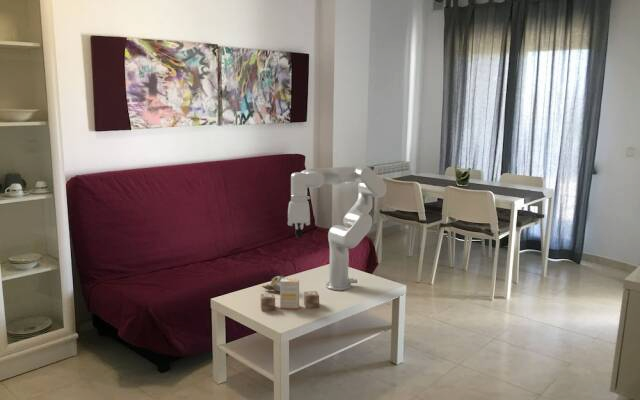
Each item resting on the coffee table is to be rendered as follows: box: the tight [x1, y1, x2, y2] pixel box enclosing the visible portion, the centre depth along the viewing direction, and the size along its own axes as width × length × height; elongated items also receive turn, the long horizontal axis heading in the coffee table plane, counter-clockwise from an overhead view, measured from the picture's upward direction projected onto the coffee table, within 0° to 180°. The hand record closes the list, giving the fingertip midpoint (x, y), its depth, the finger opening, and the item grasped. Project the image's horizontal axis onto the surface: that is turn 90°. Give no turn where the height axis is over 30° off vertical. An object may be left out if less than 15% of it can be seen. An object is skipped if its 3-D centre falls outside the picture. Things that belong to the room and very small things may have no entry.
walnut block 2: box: [303, 290, 320, 309], centre depth 249 cm, size 6×6×6 cm
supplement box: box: [279, 277, 300, 310], centre depth 247 cm, size 8×5×13 cm, turn 84°
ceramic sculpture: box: [261, 274, 285, 292], centre depth 268 cm, size 11×9×15 cm
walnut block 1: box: [260, 292, 276, 312], centre depth 245 cm, size 6×6×6 cm
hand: (298, 237), depth 257 cm, fingers closed
